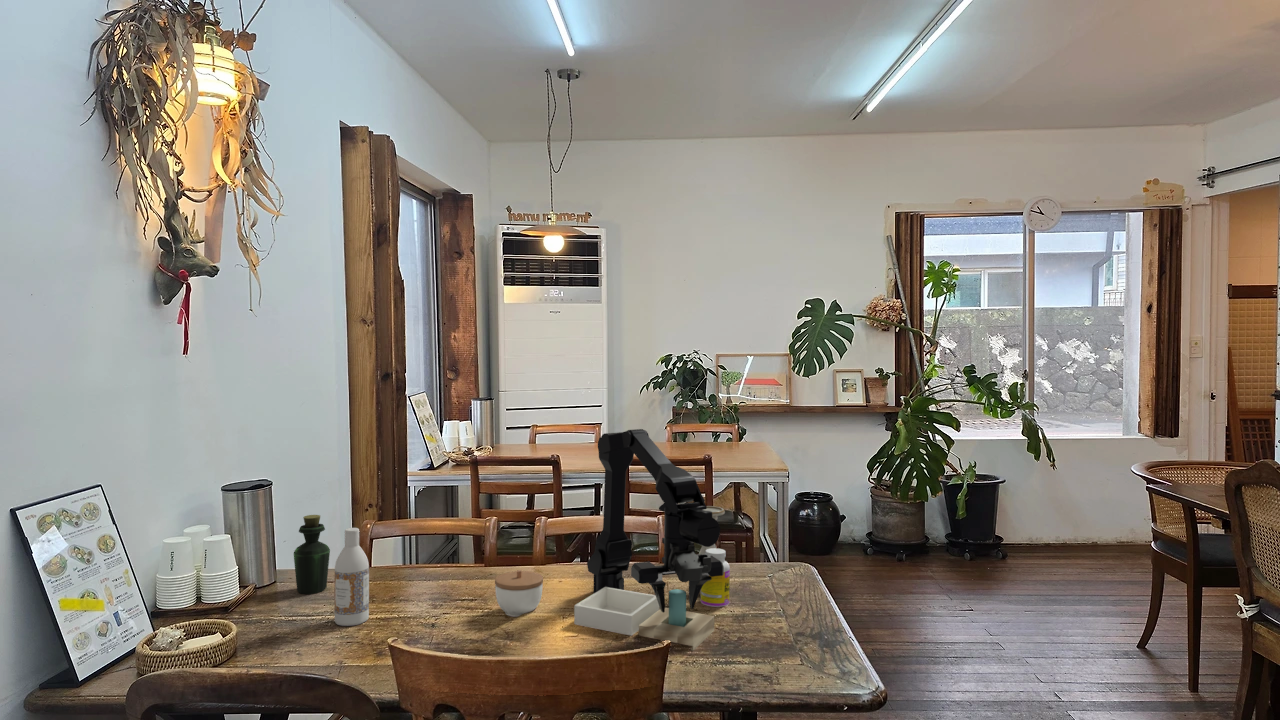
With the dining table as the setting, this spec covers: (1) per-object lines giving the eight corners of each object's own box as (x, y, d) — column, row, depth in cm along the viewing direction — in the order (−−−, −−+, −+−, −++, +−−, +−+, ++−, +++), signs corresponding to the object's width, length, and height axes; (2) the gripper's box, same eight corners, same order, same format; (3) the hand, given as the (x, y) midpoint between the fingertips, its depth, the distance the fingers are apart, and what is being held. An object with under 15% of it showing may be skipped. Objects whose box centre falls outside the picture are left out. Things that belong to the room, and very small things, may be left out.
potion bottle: (335, 584, 184) (335, 512, 184) (322, 595, 176) (322, 520, 176) (302, 584, 184) (302, 512, 184) (287, 595, 176) (287, 520, 175)
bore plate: (638, 639, 151) (638, 625, 151) (662, 620, 162) (662, 607, 161) (693, 651, 145) (693, 635, 145) (714, 630, 156) (714, 616, 156)
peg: (665, 636, 153) (666, 593, 152) (672, 630, 156) (672, 588, 156) (681, 639, 151) (682, 596, 151) (688, 633, 154) (688, 590, 154)
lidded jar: (552, 612, 166) (553, 570, 166) (514, 624, 158) (514, 581, 158) (523, 600, 174) (523, 560, 173) (485, 612, 166) (485, 570, 166)
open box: (574, 628, 156) (574, 605, 156) (605, 608, 169) (605, 586, 169) (631, 640, 151) (631, 616, 150) (659, 618, 163) (659, 596, 163)
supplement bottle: (728, 612, 167) (728, 555, 167) (698, 609, 168) (699, 553, 168) (730, 602, 174) (731, 547, 173) (702, 600, 175) (702, 546, 175)
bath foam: (327, 624, 158) (327, 531, 157) (349, 613, 164) (349, 524, 164) (354, 628, 156) (354, 534, 155) (375, 617, 162) (375, 526, 162)
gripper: (648, 549, 142) (648, 629, 143) (736, 541, 149) (735, 618, 149) (630, 535, 153) (630, 610, 153) (712, 528, 159) (711, 600, 159)
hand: (677, 610), depth 153 cm, fingers open, 6 cm apart
